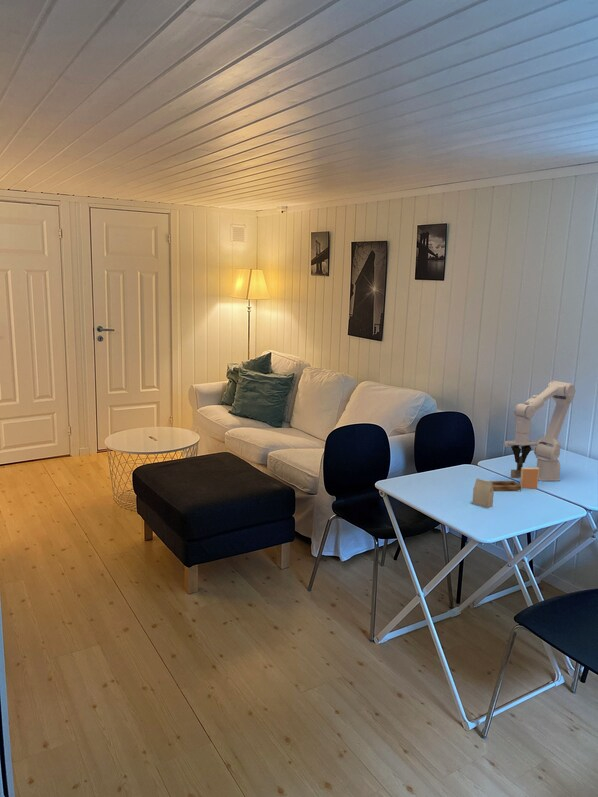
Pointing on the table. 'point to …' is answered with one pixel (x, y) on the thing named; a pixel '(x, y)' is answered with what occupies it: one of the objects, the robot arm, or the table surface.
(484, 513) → the table surface
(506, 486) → the frame
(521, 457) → the turner
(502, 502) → the table surface
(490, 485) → the tea bag
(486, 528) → the table surface
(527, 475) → the tile
